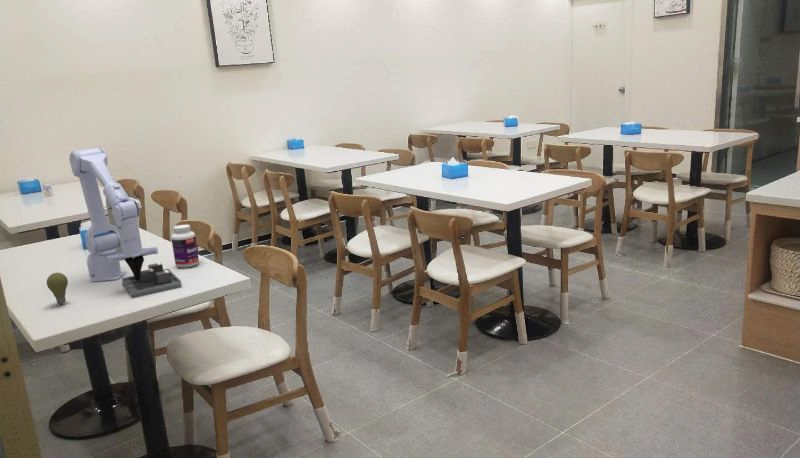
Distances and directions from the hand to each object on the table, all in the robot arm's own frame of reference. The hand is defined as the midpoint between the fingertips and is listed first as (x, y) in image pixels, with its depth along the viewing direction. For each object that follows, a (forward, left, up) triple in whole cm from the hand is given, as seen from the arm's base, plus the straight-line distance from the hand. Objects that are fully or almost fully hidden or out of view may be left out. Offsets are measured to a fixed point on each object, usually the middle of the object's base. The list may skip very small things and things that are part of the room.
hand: (137, 279), depth 196 cm
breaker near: (+9, -1, -2) cm, 9 cm away
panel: (+3, +2, -3) cm, 5 cm away
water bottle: (-20, +40, -3) cm, 45 cm away
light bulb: (-20, -10, -3) cm, 22 cm away
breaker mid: (+3, +2, -2) cm, 4 cm away
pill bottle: (+9, +22, -3) cm, 24 cm away
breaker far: (+3, +8, -2) cm, 9 cm away
